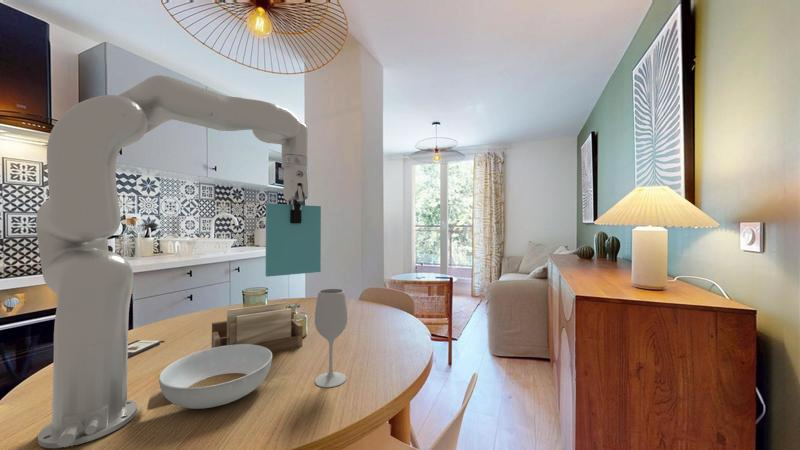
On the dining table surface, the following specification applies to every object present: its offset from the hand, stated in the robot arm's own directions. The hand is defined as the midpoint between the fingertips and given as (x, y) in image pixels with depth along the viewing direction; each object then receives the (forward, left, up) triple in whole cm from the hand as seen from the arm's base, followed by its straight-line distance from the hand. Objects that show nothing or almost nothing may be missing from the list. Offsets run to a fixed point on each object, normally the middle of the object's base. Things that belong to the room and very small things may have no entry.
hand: (294, 222), depth 94 cm
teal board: (0, 0, -16) cm, 16 cm away
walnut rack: (0, +10, -38) cm, 39 cm away
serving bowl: (-18, +21, -38) cm, 47 cm away
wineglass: (-26, -1, -38) cm, 46 cm away
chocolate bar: (+22, +41, -38) cm, 60 cm away
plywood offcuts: (-3, +10, -36) cm, 38 cm away
